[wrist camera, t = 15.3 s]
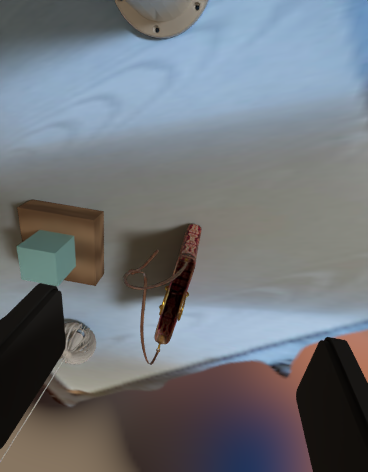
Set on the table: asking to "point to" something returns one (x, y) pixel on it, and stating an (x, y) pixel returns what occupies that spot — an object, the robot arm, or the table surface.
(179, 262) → the handbag
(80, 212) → the walnut plinth
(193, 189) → the table surface
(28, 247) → the teal block
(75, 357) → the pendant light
